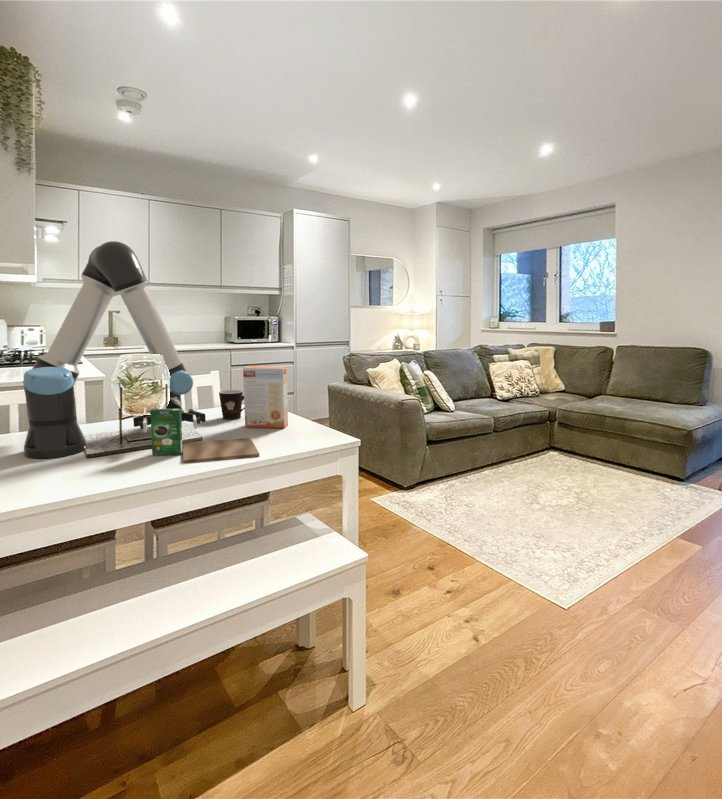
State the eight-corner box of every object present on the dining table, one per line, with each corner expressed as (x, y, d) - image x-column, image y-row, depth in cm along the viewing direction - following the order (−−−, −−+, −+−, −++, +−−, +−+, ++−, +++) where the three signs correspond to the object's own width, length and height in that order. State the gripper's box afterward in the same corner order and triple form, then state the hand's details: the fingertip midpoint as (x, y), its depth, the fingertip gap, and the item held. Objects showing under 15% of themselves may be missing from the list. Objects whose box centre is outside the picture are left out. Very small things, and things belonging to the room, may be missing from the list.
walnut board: (183, 463, 132) (183, 460, 132) (182, 445, 149) (182, 442, 149) (259, 456, 139) (259, 453, 139) (250, 440, 156) (250, 437, 156)
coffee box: (184, 452, 142) (181, 407, 140) (182, 455, 139) (179, 409, 137) (154, 453, 141) (151, 407, 139) (151, 456, 138) (148, 410, 136)
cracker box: (288, 424, 176) (287, 366, 173) (284, 429, 170) (283, 368, 167) (250, 423, 178) (248, 365, 174) (244, 427, 172) (242, 367, 168)
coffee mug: (215, 419, 183) (214, 392, 182) (228, 414, 191) (227, 389, 190) (243, 421, 180) (242, 394, 178) (254, 417, 188) (254, 391, 186)
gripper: (210, 419, 167) (216, 435, 147) (128, 425, 158) (123, 442, 139) (209, 397, 166) (215, 410, 146) (127, 401, 157) (121, 416, 137)
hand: (170, 425), depth 142 cm, fingers open, 13 cm apart
